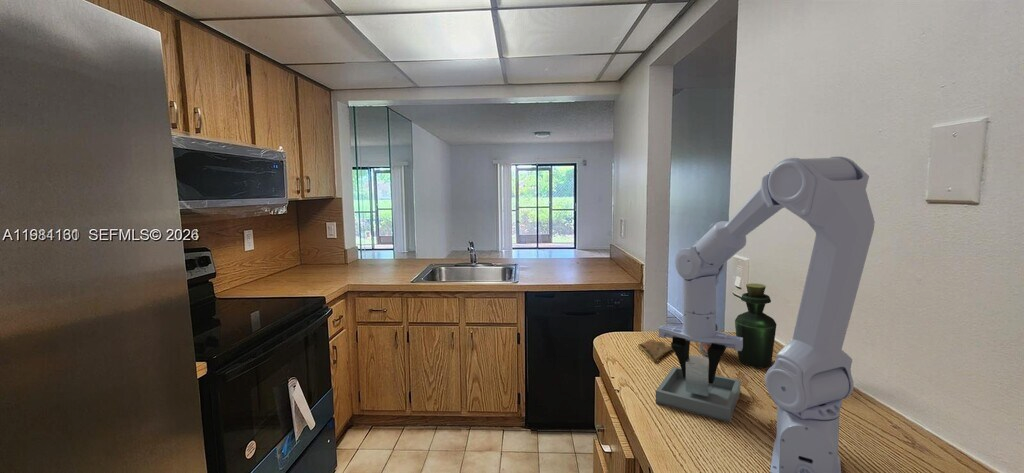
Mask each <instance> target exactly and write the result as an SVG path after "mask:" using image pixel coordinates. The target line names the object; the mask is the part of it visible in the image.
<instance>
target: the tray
mask: <svg viewBox="0 0 1024 473" xmlns="http://www.w3.org/2000/svg"><path fill="white" fill-rule="evenodd" d="M741 383H742V382H741V380H740V379H736V378H733V377H732V378H731V377H728V376H723V375H722V376H721V375H717V374H715V380H714V382H713V388H712V390H711V392H710V394H709V396H708V397H707V396H703V395H699V394H695V393H691V392H686V378H684V377H683V373H682V369H681V366H673V367H672V368H671V370H670V371H669V372H668V373H667V375H666V376H665V377H664V379H663V380H662V382H661V383H660V384H659V386H658V387H657V388H656V390H655V404H658V405H661V406H665V407H668V408H673V409H676V410H679V411H684V412H688V413H691V414H695V415H698V416H702V417H705V418H708V419H713V420H716V421H720V422H724V423H728V424H730V423H731V420H732V417H733V415H734V412H735V408H736V406H737V403H738V401H739V397H740V394H741Z"/></svg>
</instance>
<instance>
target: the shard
mask: <svg viewBox="0 0 1024 473" xmlns="http://www.w3.org/2000/svg"><path fill="white" fill-rule="evenodd" d="M637 347H638V348H639V349H640V350H642V351H643V353H644V354H645V356H646V357H647V358H648V359H649V360H650V362H653V363H655V364H656V362H658V361H659V359H661V358H663V356H664V355H666V354H668V353H669V352H670V351H673V349H672V347H671V344H668V343H666V342H663V341H659V340H655V339H651V338H650V339H646V341H644V342H643V341H642V343H638V344H637Z"/></svg>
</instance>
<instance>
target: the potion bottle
mask: <svg viewBox="0 0 1024 473" xmlns="http://www.w3.org/2000/svg"><path fill="white" fill-rule="evenodd" d="M745 286H746V291H747V292H744V293H743V294H741V297H740V300H741V301H742V302H744V303H745V305H746V308H747V311H744V312H743V313H740V314H738V315H737V316H736V318H735V319H734V326H735V336H736V337H742V338H743V348H742V351H737V360H739V362H740V363H741V364H743V365H745V366H748V367H752V368H755V369H756V368H757V369H759V368H760V369H765V368H770V367H771V366H772V361H773V355H774V354H773V353H774V346H775V337H776V331H777V322H776V321H775V319H774V318H773V317H771V316H770V315H767V314H766V313H764V310H765V306H766V304H770V303H771V302H772V299H771V297H770V296H769V295H768V294H766V293H765V291H766V287H767V285H765V284H763V283H747V284H745Z"/></svg>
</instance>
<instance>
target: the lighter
mask: <svg viewBox="0 0 1024 473" xmlns="http://www.w3.org/2000/svg"><path fill="white" fill-rule="evenodd" d="M716 331H717V332H718V324H717V323H716ZM710 346H711V345H709V344H703V343H698V348H699V351H700V354H701V355H703V357H707V358H708V349H709V348H710Z"/></svg>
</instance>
